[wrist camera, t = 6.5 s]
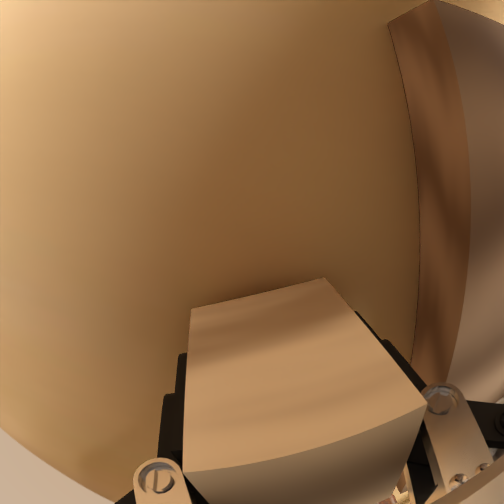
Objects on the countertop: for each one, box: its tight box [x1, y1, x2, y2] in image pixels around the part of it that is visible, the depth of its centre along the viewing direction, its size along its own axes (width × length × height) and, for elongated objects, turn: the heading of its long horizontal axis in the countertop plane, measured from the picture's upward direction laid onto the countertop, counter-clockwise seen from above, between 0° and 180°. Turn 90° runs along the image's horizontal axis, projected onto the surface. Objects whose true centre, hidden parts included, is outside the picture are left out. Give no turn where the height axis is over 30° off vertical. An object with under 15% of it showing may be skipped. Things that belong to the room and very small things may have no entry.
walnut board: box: [387, 0, 504, 494], centre depth 12 cm, size 28×8×3 cm, turn 12°
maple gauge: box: [183, 277, 428, 504], centre depth 9 cm, size 10×4×6 cm, turn 11°
